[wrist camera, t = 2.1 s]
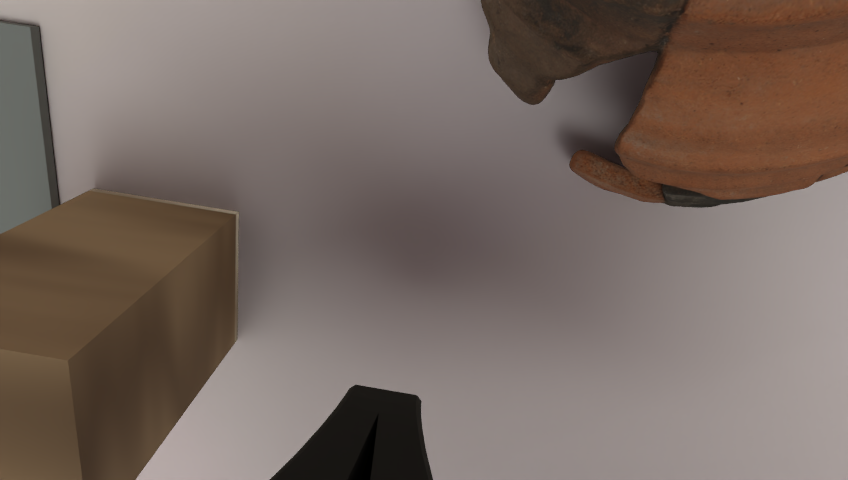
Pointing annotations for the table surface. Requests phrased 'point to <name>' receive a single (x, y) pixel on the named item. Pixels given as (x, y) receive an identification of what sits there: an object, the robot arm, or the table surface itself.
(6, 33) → the rubber mat
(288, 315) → the table surface
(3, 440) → the walnut block
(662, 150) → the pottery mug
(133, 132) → the table surface
